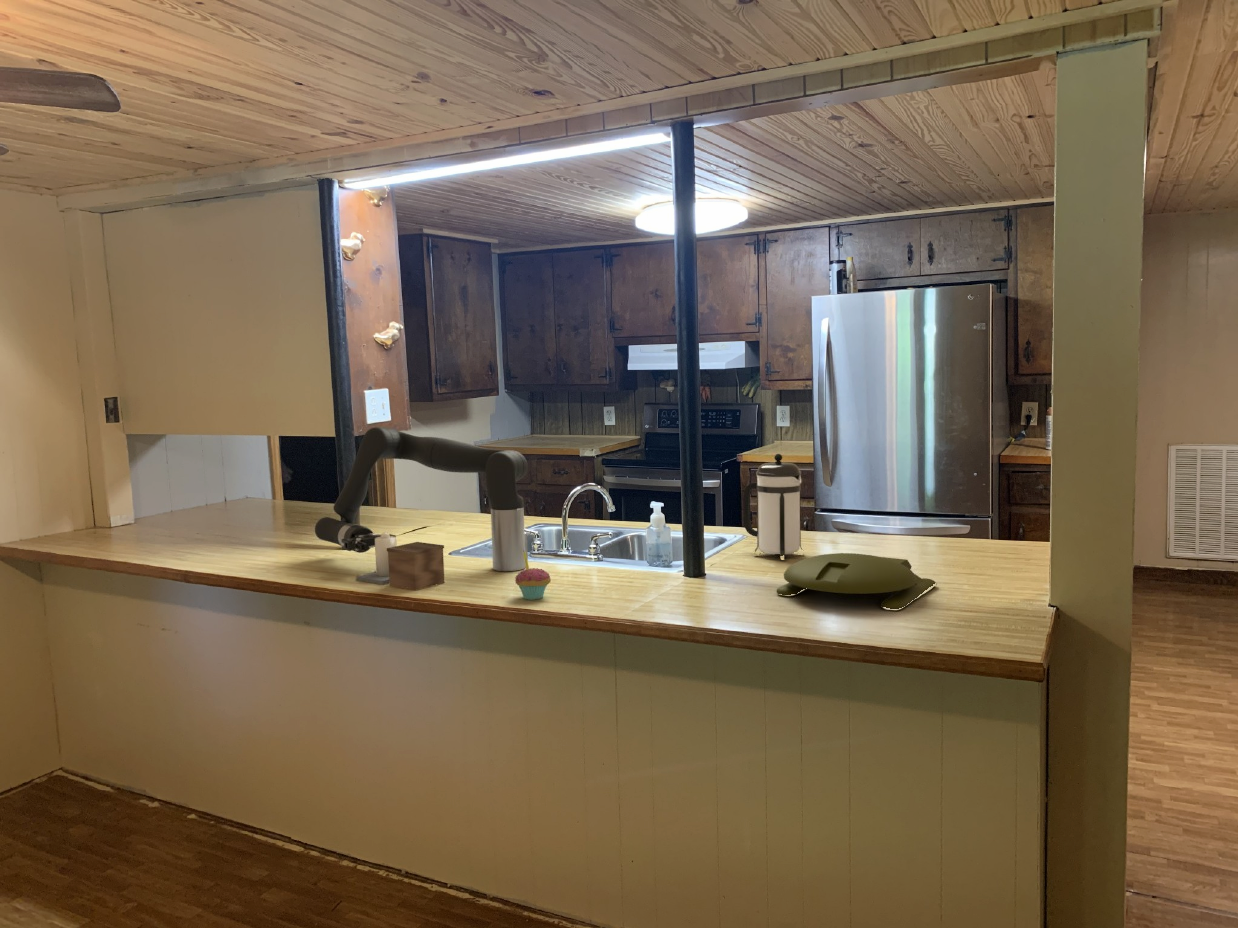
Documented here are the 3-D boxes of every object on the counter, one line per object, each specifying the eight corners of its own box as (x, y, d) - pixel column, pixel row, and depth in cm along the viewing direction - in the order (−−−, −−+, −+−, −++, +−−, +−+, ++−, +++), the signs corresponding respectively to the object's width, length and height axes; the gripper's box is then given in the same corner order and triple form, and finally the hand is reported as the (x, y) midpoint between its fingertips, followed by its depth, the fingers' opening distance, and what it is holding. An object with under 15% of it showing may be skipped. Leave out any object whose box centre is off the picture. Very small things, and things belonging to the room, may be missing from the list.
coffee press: (801, 550, 269) (801, 451, 266) (807, 561, 253) (807, 455, 250) (743, 550, 270) (742, 451, 268) (745, 561, 255) (744, 456, 252)
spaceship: (821, 574, 238) (821, 538, 237) (939, 588, 220) (939, 548, 219) (761, 602, 210) (761, 561, 209) (890, 621, 192) (891, 576, 191)
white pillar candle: (388, 571, 247) (386, 529, 246) (402, 573, 244) (400, 531, 243) (372, 575, 243) (370, 532, 242) (385, 577, 240) (383, 534, 239)
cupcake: (518, 602, 213) (517, 553, 212) (513, 594, 221) (511, 547, 220) (554, 599, 216) (552, 550, 214) (547, 591, 224) (546, 544, 223)
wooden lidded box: (418, 578, 242) (416, 541, 242) (445, 582, 236) (444, 545, 236) (388, 585, 234) (386, 548, 233) (415, 590, 228) (413, 551, 227)
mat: (391, 571, 252) (390, 568, 252) (417, 575, 245) (417, 572, 245) (356, 579, 242) (356, 576, 242) (383, 584, 236) (383, 580, 235)
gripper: (331, 527, 253) (354, 535, 240) (378, 521, 262) (403, 528, 249) (332, 554, 254) (356, 562, 241) (379, 547, 263) (404, 555, 250)
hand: (380, 545), depth 245 cm, fingers open, 8 cm apart
